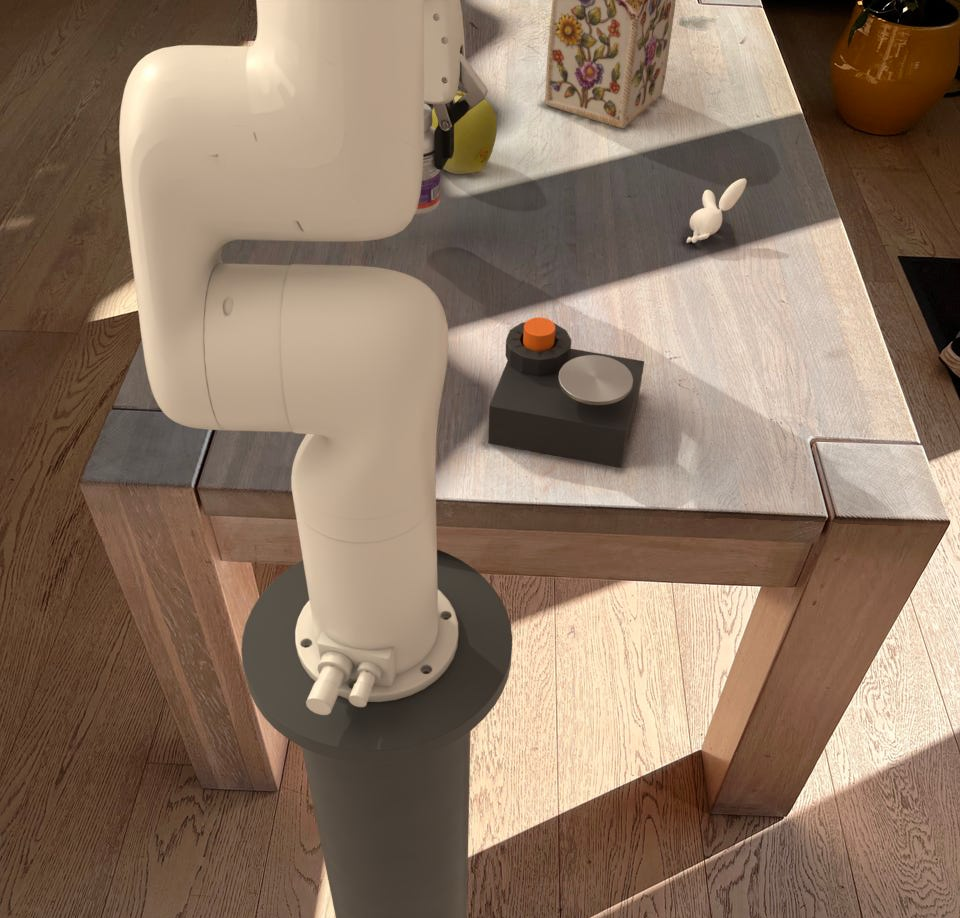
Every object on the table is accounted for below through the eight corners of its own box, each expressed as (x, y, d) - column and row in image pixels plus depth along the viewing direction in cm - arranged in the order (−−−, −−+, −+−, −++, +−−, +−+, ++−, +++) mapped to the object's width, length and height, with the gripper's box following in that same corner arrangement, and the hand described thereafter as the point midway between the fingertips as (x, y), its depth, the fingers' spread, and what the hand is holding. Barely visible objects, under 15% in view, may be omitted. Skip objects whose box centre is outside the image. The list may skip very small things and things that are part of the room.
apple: (459, 185, 123) (444, 89, 117) (424, 176, 129) (409, 84, 123) (516, 167, 126) (505, 72, 120) (480, 159, 132) (467, 68, 126)
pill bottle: (381, 197, 116) (375, 103, 108) (426, 186, 117) (424, 93, 110) (402, 220, 112) (398, 126, 105) (449, 209, 114) (448, 115, 107)
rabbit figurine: (666, 237, 119) (700, 178, 120) (687, 260, 121) (719, 202, 122) (705, 230, 114) (740, 169, 115) (726, 255, 116) (759, 194, 117)
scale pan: (625, 411, 91) (626, 407, 91) (551, 397, 92) (551, 394, 92) (638, 365, 95) (638, 361, 95) (566, 353, 96) (566, 349, 96)
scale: (620, 467, 95) (628, 414, 91) (484, 442, 97) (485, 388, 93) (639, 392, 102) (648, 338, 97) (512, 370, 104) (515, 316, 99)
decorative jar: (623, 132, 134) (643, -30, 120) (541, 107, 138) (551, -53, 124) (665, 94, 140) (688, -63, 126) (585, 71, 144) (600, -84, 130)
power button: (550, 354, 96) (551, 338, 95) (519, 349, 97) (520, 332, 95) (557, 336, 98) (558, 320, 97) (526, 331, 98) (527, 314, 97)
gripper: (303, -36, 96) (322, 164, 110) (490, -13, 94) (485, 188, 108) (331, -63, 101) (346, 132, 115) (510, -43, 98) (503, 154, 112)
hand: (413, 157), depth 111 cm, fingers closed on pill bottle, 5 cm apart
